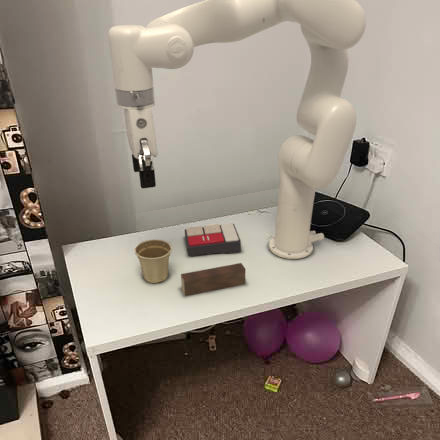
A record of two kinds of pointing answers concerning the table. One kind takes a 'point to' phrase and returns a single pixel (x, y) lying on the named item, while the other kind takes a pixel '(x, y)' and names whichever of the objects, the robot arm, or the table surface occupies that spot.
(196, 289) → the brown wooden block
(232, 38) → the robot arm
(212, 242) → the calculator
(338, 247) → the table surface
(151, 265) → the flower pot
